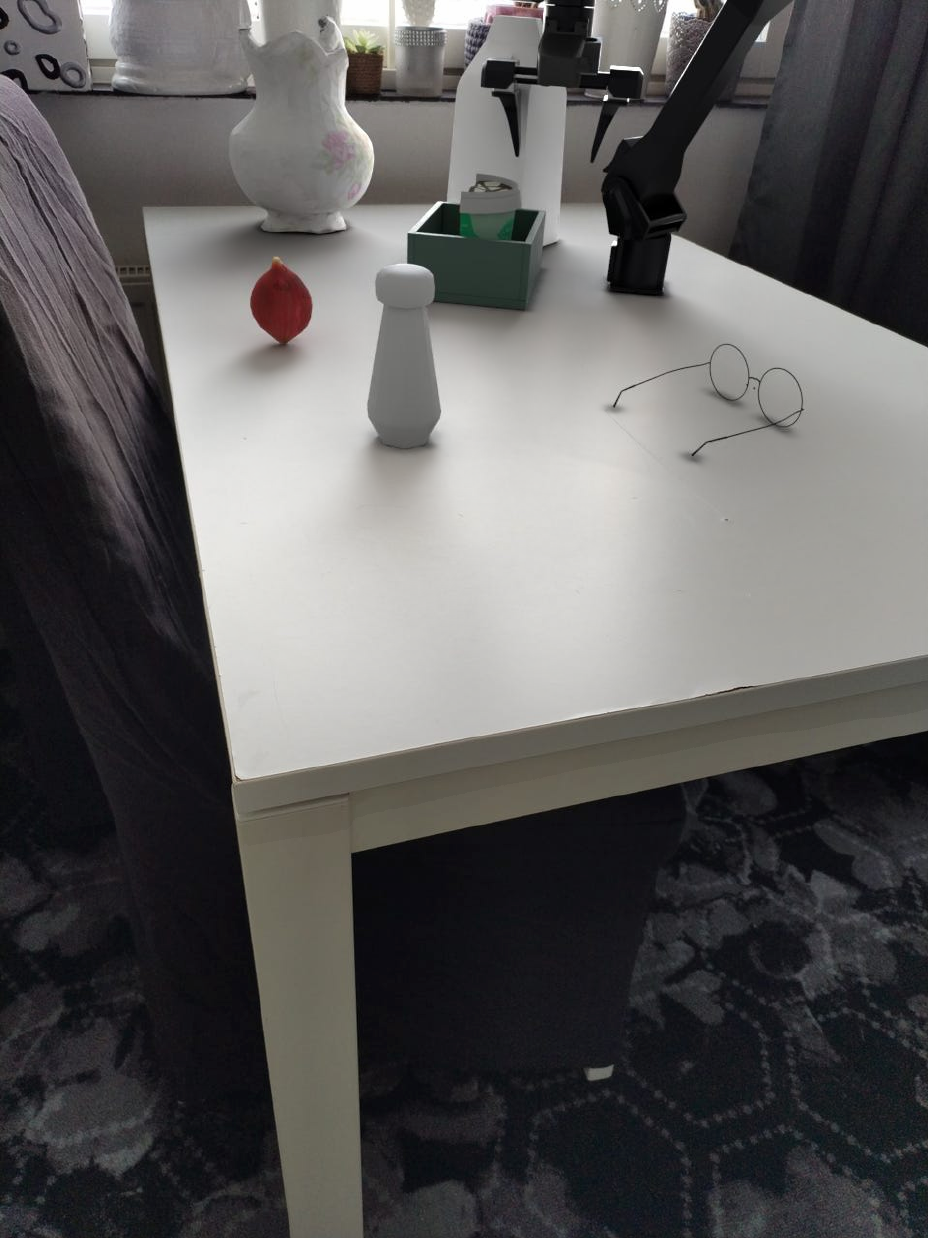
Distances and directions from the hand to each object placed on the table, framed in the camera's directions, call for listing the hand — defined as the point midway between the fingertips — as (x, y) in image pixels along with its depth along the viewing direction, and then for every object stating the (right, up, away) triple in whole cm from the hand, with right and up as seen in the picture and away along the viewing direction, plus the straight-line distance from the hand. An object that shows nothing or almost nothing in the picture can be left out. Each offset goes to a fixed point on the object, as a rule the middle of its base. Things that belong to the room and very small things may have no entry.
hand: (554, 159), depth 109 cm
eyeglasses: (+9, -40, -33) cm, 53 cm away
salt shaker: (-16, -42, -39) cm, 60 cm away
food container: (-8, -16, -3) cm, 18 cm away
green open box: (-9, -16, -2) cm, 19 cm away
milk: (-6, -4, +15) cm, 17 cm away
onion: (-29, -30, -22) cm, 47 cm away
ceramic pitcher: (-33, 0, +18) cm, 38 cm away
